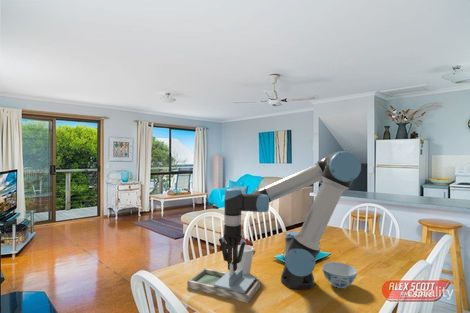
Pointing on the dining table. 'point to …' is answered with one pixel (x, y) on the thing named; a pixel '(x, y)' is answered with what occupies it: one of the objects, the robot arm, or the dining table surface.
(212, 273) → the grey flat rectangular tray
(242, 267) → the foam cup
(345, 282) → the chinaware
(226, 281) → the lid
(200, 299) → the dining table surface
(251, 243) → the dragon fruit
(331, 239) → the dining table surface
